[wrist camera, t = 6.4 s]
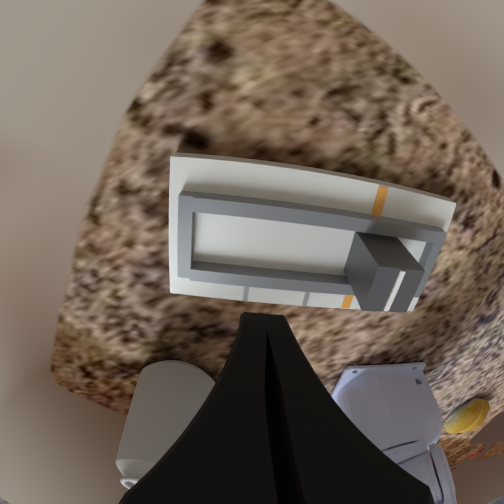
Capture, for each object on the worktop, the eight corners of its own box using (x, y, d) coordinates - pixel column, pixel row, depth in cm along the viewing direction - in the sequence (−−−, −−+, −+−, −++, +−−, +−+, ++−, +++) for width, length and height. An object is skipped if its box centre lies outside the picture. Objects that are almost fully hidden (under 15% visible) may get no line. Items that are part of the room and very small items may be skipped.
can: (130, 377, 26) (100, 482, 16) (164, 341, 23) (131, 473, 13) (192, 407, 29) (180, 508, 18) (234, 378, 26) (230, 500, 15)
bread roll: (469, 394, 32) (479, 414, 28) (490, 396, 34) (498, 413, 30) (433, 425, 36) (440, 444, 32) (457, 424, 37) (464, 440, 34)
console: (447, 197, 17) (464, 209, 15) (406, 301, 22) (417, 319, 20) (175, 152, 16) (165, 160, 14) (173, 282, 20) (166, 301, 19)
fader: (396, 237, 17) (425, 272, 14) (383, 274, 19) (406, 313, 15) (355, 231, 17) (379, 267, 14) (343, 270, 19) (362, 311, 15)
